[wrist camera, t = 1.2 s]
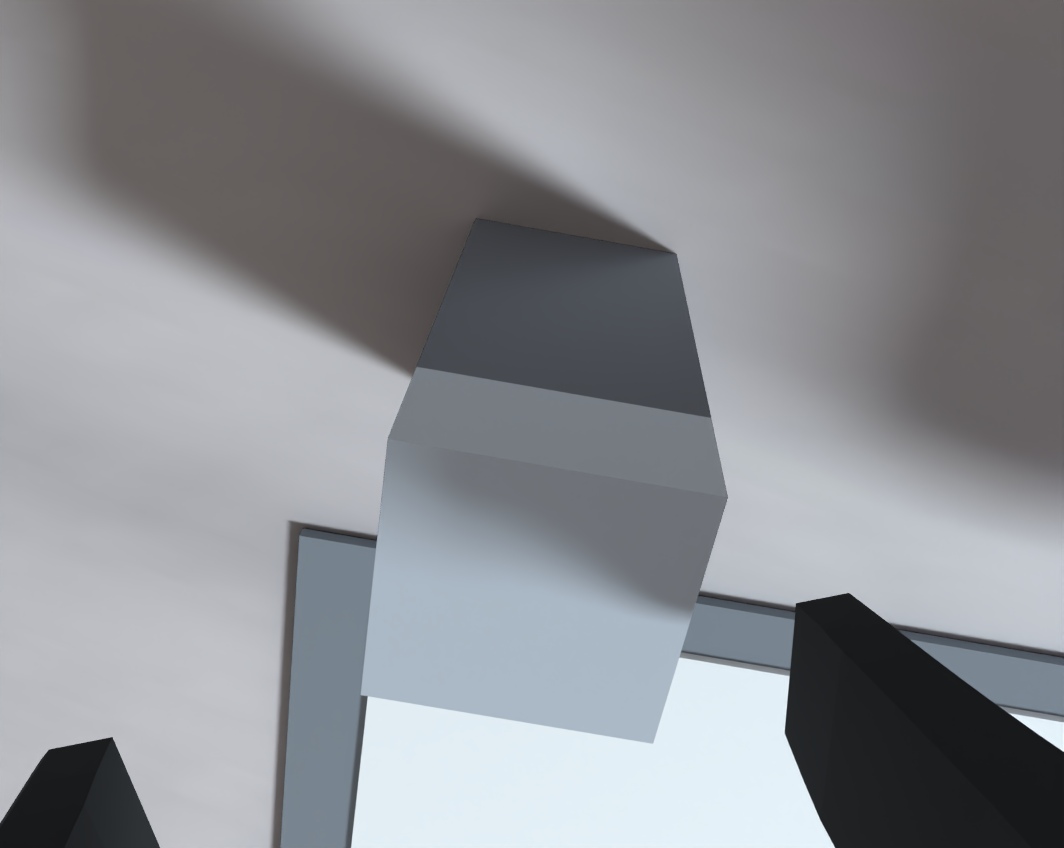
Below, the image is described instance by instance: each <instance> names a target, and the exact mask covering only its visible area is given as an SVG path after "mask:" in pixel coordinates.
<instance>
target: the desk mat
mask: <svg viewBox="0 0 1064 848" xmlns="http://www.w3.org/2000/svg"><path fill="white" fill-rule="evenodd" d="M376 545H377V541H374V540H368V539H363V538H357V537H351V536H345V535H339V534H333V533H327V532H321V531H316V530H310V529H304V528H303V529H302V531H301V533H300V535H299V549H298V565H297V582H296V599H295V615H294V632H293V648H292V665H291V681H290V698H289V714H288V731H287V747H286V764H285V780H284V797H283V813H282V830H281V847H280V848H835V847H834V845H833V843H832V841H831V839H830V837H829V835H828V834H827V832H826V830H825V828H824V826H823V824H822V822H821V821H820V818H819V816H818V814H817V811H816V809H815V807H814V804H813V802H812V800H811V797H810V795H809V793H808V790H807V788H806V785H805V783H804V781H803V778H802V776H801V773H800V771H799V768H798V766H797V763H796V761H795V758H794V756H793V753H792V751H791V748H790V746H789V743H788V741H787V738H786V736H785V722H786V711H787V700H788V688H789V677H790V666H791V655H792V644H793V633H794V622H795V612H791V611H785V610H779V609H773V608H768V607H762V606H756V605H750V604H744V603H738V602H732V601H727V600H721V599H715V598H709V597H703V596H698V597H697V601H696V604H695V607H694V611H693V614H692V617H691V621H690V624H689V627H688V630H687V634H686V637H685V640H684V644H683V647H682V650H681V653H680V657H679V660H678V663H677V667H676V670H675V673H674V677H673V680H672V683H671V686H670V690H669V693H668V696H667V700H666V703H665V706H664V710H663V713H662V716H661V719H660V723H659V726H658V729H657V733H656V736H655V739H654V742H653V744H651V743H645V742H639V741H633V740H627V739H621V738H615V737H609V736H603V735H597V734H591V733H585V732H579V731H573V730H567V729H561V728H555V727H549V726H543V725H537V724H531V723H525V722H519V721H513V720H507V719H501V718H495V717H489V716H483V715H477V714H471V713H465V712H459V711H453V710H447V709H441V708H435V707H429V706H423V705H417V704H411V703H405V702H399V701H393V700H387V699H381V698H375V697H369V696H363V695H361V686H362V677H363V668H364V658H365V649H366V639H367V630H368V620H369V611H370V601H371V592H372V583H373V573H374V564H375V554H376ZM898 631H899V632H901V633H902V634H903V635H905V636H906V637H907V638H908V639H910V640H911V641H912V642H914V643H915V644H916V645H918V646H919V647H920V648H922V649H923V650H924V651H925V652H927V653H928V654H929V655H931V656H932V657H933V658H935V659H936V660H937V661H939V662H940V663H941V664H943V665H944V666H945V667H947V668H948V669H949V670H951V671H952V672H953V673H955V674H956V675H957V676H958V677H960V678H961V679H962V680H964V681H965V682H967V683H968V684H969V685H971V686H972V687H973V688H975V689H976V690H977V691H979V692H980V693H981V694H983V695H984V696H985V697H987V698H988V699H990V700H991V701H992V702H994V703H995V704H997V705H998V706H999V707H1001V708H1002V709H1004V710H1005V711H1006V712H1008V713H1009V714H1011V715H1012V716H1013V717H1015V718H1016V719H1017V720H1019V721H1020V722H1022V723H1023V724H1024V725H1026V726H1027V727H1029V728H1030V729H1031V730H1033V731H1034V732H1036V733H1037V734H1038V735H1040V736H1041V737H1043V738H1044V739H1046V740H1047V741H1049V742H1050V743H1052V744H1053V745H1055V746H1056V747H1057V748H1059V749H1060V750H1062V751H1063V752H1064V658H1061V657H1055V656H1049V655H1044V654H1038V653H1032V652H1026V651H1020V650H1014V649H1008V648H1002V647H997V646H991V645H985V644H979V643H973V642H967V641H961V640H955V639H950V638H944V637H938V636H932V635H926V634H920V633H914V632H908V631H903V630H898Z"/></svg>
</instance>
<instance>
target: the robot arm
mask: <svg viewBox="0 0 1064 848" xmlns="http://www.w3.org/2000/svg"><path fill="white" fill-rule="evenodd" d="M785 736H786V738H787V741H788V743H789V746H790V748H791V751H792V753H793V756H794V758H795V761H796V763H797V766H798V768H799V771H800V773H801V776H802V778H803V781H804V783H805V785H806V788H807V790H808V793H809V795H810V797H811V800H812V802H813V804H814V807H815V809H816V811H817V814H818V816H819V818H820V821H821V822H822V824H823V826H824V828H825V830H826V832H827V834H828V835H829V837H830V839H831V841H832V843H833V845H834V847H835V848H1064V752H1063V751H1062V750H1060V749H1059V748H1057V747H1056V746H1055V745H1053V744H1052V743H1050V742H1049V741H1047V740H1046V739H1044V738H1043V737H1041V736H1040V735H1038V734H1037V733H1036V732H1034V731H1033V730H1031V729H1030V728H1029V727H1027V726H1026V725H1024V724H1023V723H1022V722H1020V721H1019V720H1017V719H1016V718H1015V717H1013V716H1012V715H1011V714H1009V713H1008V712H1006V711H1005V710H1004V709H1002V708H1001V707H999V706H998V705H997V704H995V703H994V702H992V701H991V700H990V699H988V698H987V697H985V696H984V695H983V694H981V693H980V692H979V691H977V690H976V689H975V688H973V687H972V686H971V685H969V684H968V683H967V682H965V681H964V680H962V679H961V678H960V677H958V676H957V675H956V674H955V673H953V672H952V671H951V670H949V669H948V668H947V667H945V666H944V665H943V664H941V663H940V662H939V661H937V660H936V659H935V658H933V657H932V656H931V655H929V654H928V653H927V652H925V651H924V650H923V649H922V648H920V647H919V646H918V645H916V644H915V643H914V642H912V641H911V640H910V639H908V638H907V637H906V636H905V635H903V634H902V633H901V632H899V631H898V630H897V629H895V628H894V627H893V626H891V625H890V624H889V623H888V622H886V621H885V620H884V619H882V618H881V617H880V616H878V615H877V614H876V613H875V612H873V611H872V610H871V609H869V608H868V607H867V606H865V605H864V604H863V603H861V602H860V601H859V600H857V599H856V598H855V597H853V596H852V595H851V594H849V593H847V594H842V595H837V596H831V597H826V598H821V599H816V600H811V601H806V602H801V603H796V611H795V622H794V633H793V644H792V655H791V666H790V677H789V688H788V700H787V711H786V722H785ZM0 848H160V847H159V844H158V842H157V840H156V837H155V835H154V833H153V830H152V828H151V826H150V823H149V821H148V819H147V817H146V814H145V812H144V810H143V807H142V805H141V803H140V800H139V798H138V796H137V793H136V791H135V789H134V786H133V784H132V782H131V779H130V777H129V775H128V772H127V770H126V768H125V765H124V763H123V761H122V758H121V756H120V754H119V751H118V749H117V747H116V745H115V742H114V740H113V738H112V737H111V738H106V739H101V740H96V741H91V742H86V743H81V744H76V745H70V746H65V747H60V748H55V749H50V750H48V752H47V753H46V754H45V755H44V757H43V758H42V759H41V760H40V762H39V764H38V765H37V767H36V768H35V770H34V771H33V773H32V774H31V776H30V777H29V779H28V781H27V782H26V784H25V785H24V787H23V788H22V790H21V792H20V793H19V795H18V796H17V798H16V799H15V801H14V803H13V804H12V806H11V807H10V809H9V810H8V812H7V814H6V815H5V817H4V818H3V820H2V821H1V823H0Z"/></svg>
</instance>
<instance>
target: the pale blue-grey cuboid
mask: <svg viewBox="0 0 1064 848" xmlns="http://www.w3.org/2000/svg"><path fill="white" fill-rule="evenodd" d="M727 499H728V495H727V491H726V486H725V481H724V476H723V472H722V467H721V462H720V457H719V453H718V448H717V443H716V439H715V434H714V429H713V424H712V420H711V415H710V410H709V405H708V401H707V396H706V391H705V387H704V382H703V377H702V372H701V368H700V363H699V358H698V353H697V349H696V344H695V339H694V334H693V330H692V325H691V320H690V316H689V311H688V306H687V301H686V297H685V292H684V287H683V282H682V278H681V273H680V268H679V264H678V259H677V254H674V253H668V252H662V251H657V250H651V249H645V248H640V247H634V246H628V245H623V244H617V243H611V242H606V241H600V240H595V239H589V238H583V237H578V236H572V235H566V234H561V233H555V232H549V231H544V230H538V229H532V228H527V227H521V226H515V225H510V224H504V223H499V222H493V221H487V220H482V219H475V222H474V224H473V227H472V229H471V232H470V234H469V237H468V239H467V242H466V244H465V247H464V249H463V252H462V254H461V257H460V259H459V262H458V264H457V267H456V269H455V272H454V274H453V277H452V279H451V282H450V284H449V287H448V289H447V292H446V294H445V297H444V299H443V302H442V304H441V307H440V309H439V312H438V314H437V317H436V319H435V322H434V324H433V327H432V329H431V332H430V334H429V337H428V339H427V342H426V344H425V347H424V349H423V352H422V354H421V357H420V359H419V362H418V364H417V367H416V369H415V372H414V374H413V377H412V379H411V382H410V384H409V387H408V389H407V392H406V394H405V397H404V399H403V402H402V404H401V407H400V409H399V412H398V414H397V417H396V419H395V422H394V424H393V427H392V429H391V432H390V434H389V437H388V441H387V450H386V460H385V469H384V479H383V488H382V498H381V507H380V517H379V526H378V535H377V545H376V554H375V564H374V573H373V583H372V592H371V601H370V611H369V620H368V630H367V639H366V649H365V658H364V668H363V677H362V686H361V695H363V696H369V697H375V698H381V699H387V700H393V701H399V702H405V703H411V704H417V705H423V706H429V707H435V708H441V709H447V710H453V711H459V712H465V713H471V714H477V715H483V716H489V717H495V718H501V719H507V720H513V721H519V722H525V723H531V724H537V725H543V726H549V727H555V728H561V729H567V730H573V731H579V732H585V733H591V734H597V735H603V736H609V737H615V738H621V739H627V740H633V741H639V742H645V743H651V744H653V742H654V739H655V736H656V733H657V729H658V726H659V723H660V719H661V716H662V713H663V710H664V706H665V703H666V700H667V696H668V693H669V690H670V686H671V683H672V680H673V677H674V673H675V670H676V667H677V663H678V660H679V657H680V653H681V650H682V647H683V644H684V640H685V637H686V634H687V630H688V627H689V624H690V621H691V617H692V614H693V611H694V607H695V604H696V601H697V597H698V594H699V591H700V588H701V584H702V581H703V578H704V574H705V571H706V568H707V564H708V561H709V558H710V555H711V551H712V548H713V545H714V541H715V538H716V535H717V532H718V528H719V525H720V522H721V518H722V515H723V512H724V508H725V505H726V502H727Z"/></svg>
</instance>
